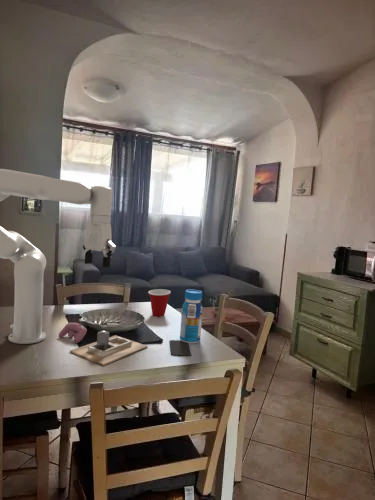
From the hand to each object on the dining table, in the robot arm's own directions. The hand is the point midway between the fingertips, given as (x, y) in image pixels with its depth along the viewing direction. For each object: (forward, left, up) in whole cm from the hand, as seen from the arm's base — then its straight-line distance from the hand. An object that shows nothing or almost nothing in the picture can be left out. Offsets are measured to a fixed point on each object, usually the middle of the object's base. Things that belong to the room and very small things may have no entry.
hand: (97, 265), depth 140 cm
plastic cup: (-1, +43, -28) cm, 51 cm away
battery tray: (+14, -4, -28) cm, 31 cm away
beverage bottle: (+29, +25, -28) cm, 47 cm away
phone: (+31, +15, -29) cm, 44 cm away
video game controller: (-4, -6, -28) cm, 29 cm away
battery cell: (+13, -8, -27) cm, 32 cm away
